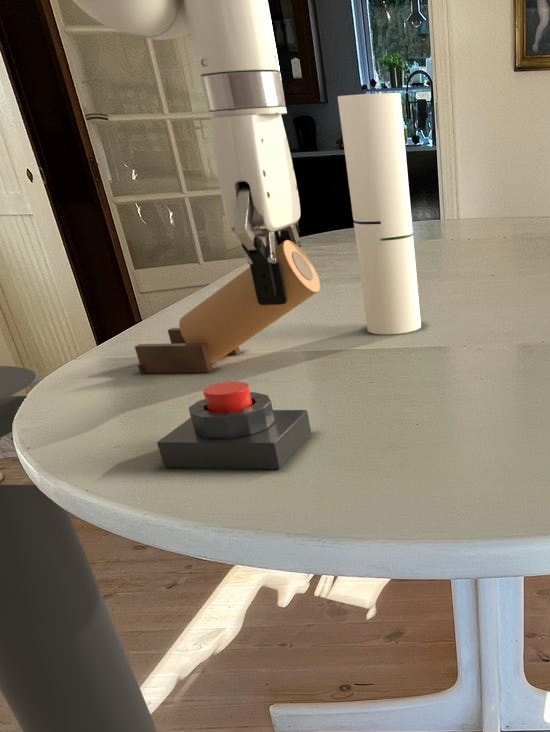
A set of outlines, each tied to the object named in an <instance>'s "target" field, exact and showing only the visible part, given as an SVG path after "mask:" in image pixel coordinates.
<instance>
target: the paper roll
mask: <svg viewBox="0 0 550 732" xmlns="http://www.w3.org/2000/svg"><path fill="white" fill-rule="evenodd" d="M275 251H276V263H277V262H280V264H281V269H282V274H283V279H284V284H285V289H286V295H287V303H285V304H282V305H260V304H259V303H258V300H257V296H256V291H255V286H254V282H253V277H252V273H251V268H250V266H249V267H247V268H246V269H245V270H243V271H242V272H241V273H239V274H237V276H236V277H234V278H233V279H231V280H230V281H229V282H227V283H226V284H224V285H223V286H222V287H220V288H219V289H218V290H216V291H215V292H214V293H212V294H211V295H209V296H208V297H207V298H206V299H204V300H203V301H201V302H200V303H199V304H198V305H196V306H195V307H193V308H192V309H191V310H189V311H188V312H187V313H185V314H184V315H183V316H181V318H180V319H179V324H178V328H180V331H181V334H182V336H183V338H184V340H185V342H186V343H206V344H207V348H208V352H209V356H210V360H211V364H214V363H217V362H218V361H220V360H221V359H223V358H224V357H225V356H228V355H227V354H228V353H230V352H231V351H233V350H234V349H236V348H237V347H239V348H240V347H241V346H242V345H243V344H244V343H246V342H247V341H249V340H250V339H252V338H253V337H255V336H256V335H258V334H259V333H260V332H262V331H264V330H265V329H267V328H268V327H269V326H271V325H272V324H273V323H275V322H276V321H278V320H280V319H281V318H283V316H285V315H286V314H288V313H289V312H291V311H292V310H294V309H296V308H297V307H298V306H299V305H301V304H302V303H304V302H305V301H307V300H309V298H311V297H313V296H314V295H315V294H317V293H318V292H319V291H320V289H321V282H320V278H319V275H318V273H317V270H316V268H315V267H314V265H313V263H312V261H311V260H310V258H309V257H308V256H307V254H306V253H305V252H304V250H303V249H302V250H301V249H300V247H298V246H297V245H296V244H295V243H293V242H292V241H289V240H285V241H284V242H283V243H281V244H280V245H278V246H277V247H276V248H275Z"/></svg>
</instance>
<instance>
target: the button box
mask: <svg viewBox="0 0 550 732" xmlns="http://www.w3.org/2000/svg"><path fill="white" fill-rule="evenodd" d="M250 395H251V399H252V403H253V405H252V406H251V407H248V408H245V409H242V410H239V411H232V412H226V413H213V412H209V411H208V408H207V404H206V400H205V398H203V399H200V400H197V401H196V402H195V403H193V404H192V405H190V406H189V407H188V411H189V418H188V419H186V420H185V421H184V422H182V423H181V424H179V425H178V426H176V428H174V429H173V430H172V431H170V432H169V433H168V434H166V435H165V436H163V437H162V438H161V439H159V440H158V441H157V442H156V444H157V447H158V450H159V453H160V457H161V460H162V464H163V467H164V468H165V469H216V470H217V469H221V470H223V469H227V470H229V469H230V470H237V469H238V470H281V469H282V467H284V465H285V464H286V463H287V462H288V461H289V460H290V459H291V458H292V457H293V455H295V453H296V452H297V451H298V450H299V449H300V447H302V445H304V443H306V441H307V440H308V439H309V438H310V437H311V436H312V429H311V423H310V418H309V417H310V416H309V413H308V410H307V409H273V404H272V400H271V399H270V397H269V395H267V394H265V393H261V392H260V393H259V392H256V391H250Z"/></svg>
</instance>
